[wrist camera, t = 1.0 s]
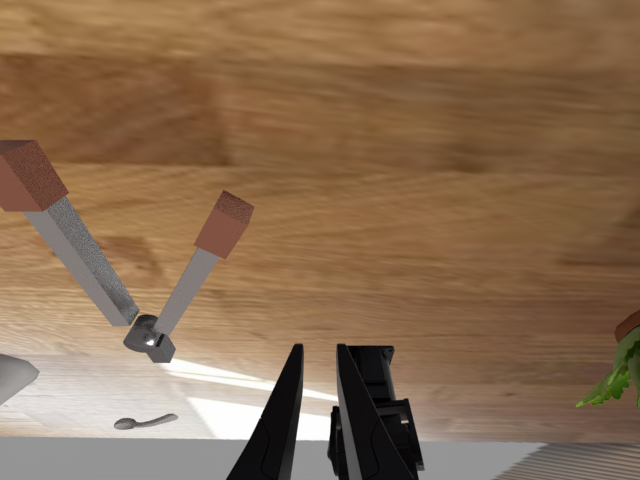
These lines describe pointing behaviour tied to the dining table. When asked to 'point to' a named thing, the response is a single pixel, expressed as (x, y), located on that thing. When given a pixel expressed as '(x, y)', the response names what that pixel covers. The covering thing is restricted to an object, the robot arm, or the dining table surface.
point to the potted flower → (634, 350)
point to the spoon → (131, 423)
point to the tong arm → (194, 270)
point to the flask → (14, 376)
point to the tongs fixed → (66, 233)
